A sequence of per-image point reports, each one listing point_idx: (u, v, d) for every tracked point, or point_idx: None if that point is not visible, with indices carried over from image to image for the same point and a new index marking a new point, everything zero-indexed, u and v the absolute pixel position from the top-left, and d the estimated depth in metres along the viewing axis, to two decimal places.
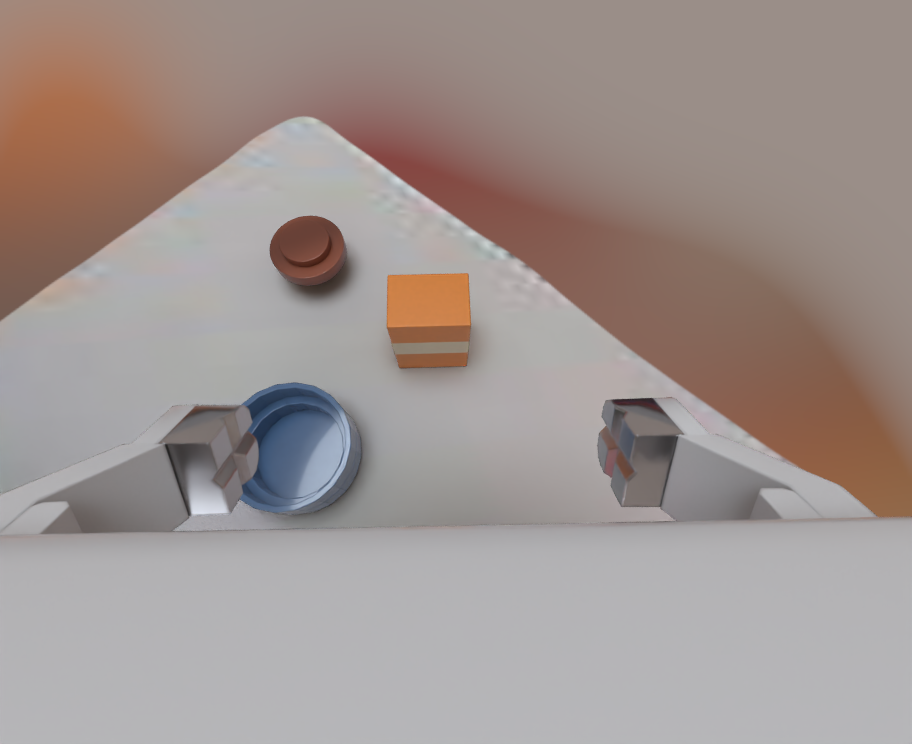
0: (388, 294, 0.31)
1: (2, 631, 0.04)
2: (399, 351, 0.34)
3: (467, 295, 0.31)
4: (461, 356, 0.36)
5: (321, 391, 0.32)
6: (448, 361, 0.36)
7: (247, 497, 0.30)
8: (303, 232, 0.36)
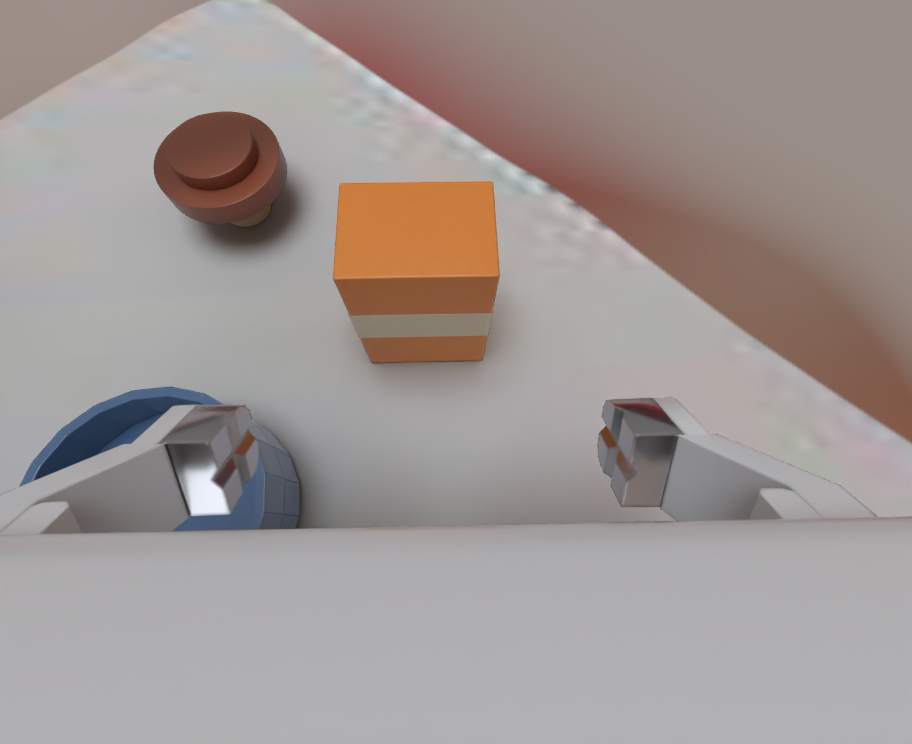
0: (339, 217, 0.16)
1: (2, 631, 0.04)
2: (365, 332, 0.19)
3: (492, 220, 0.16)
4: (476, 343, 0.21)
5: (216, 403, 0.17)
6: (453, 352, 0.22)
7: None
8: (209, 132, 0.22)
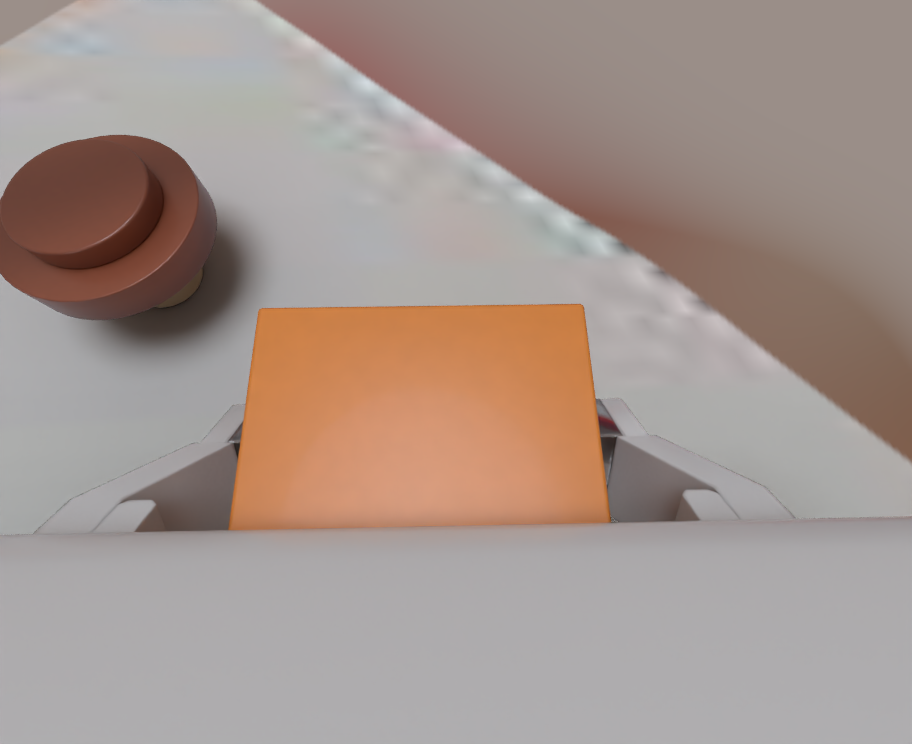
0: (250, 392, 0.07)
1: (2, 631, 0.04)
2: None
3: (588, 400, 0.07)
4: None
5: None
6: None
7: None
8: (78, 172, 0.13)
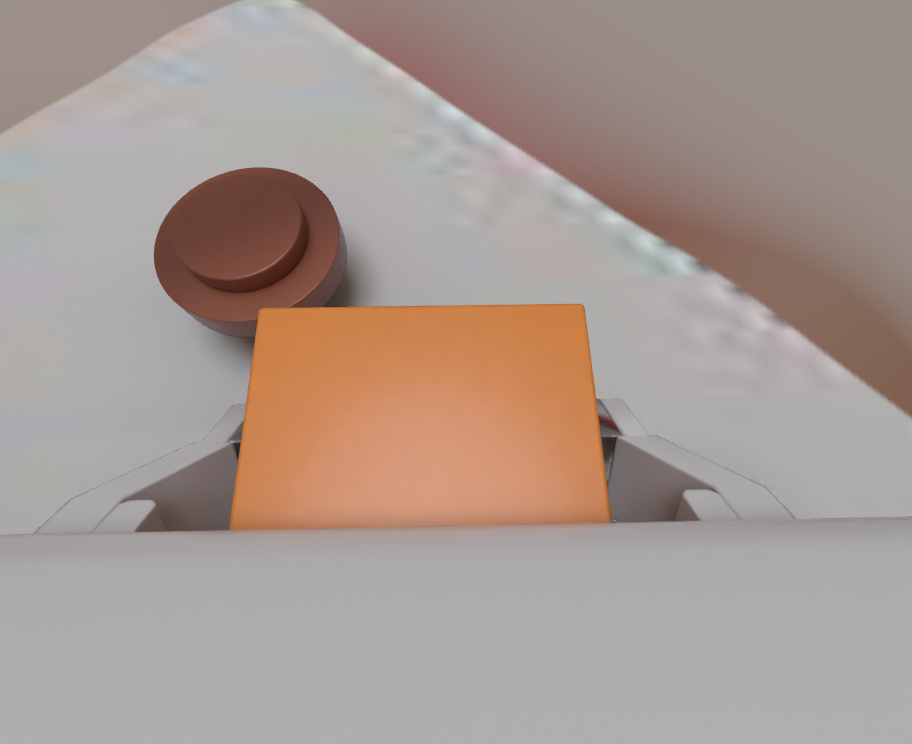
0: (251, 392, 0.07)
1: (2, 631, 0.04)
2: None
3: (589, 400, 0.07)
4: None
5: None
6: None
7: None
8: (237, 204, 0.14)
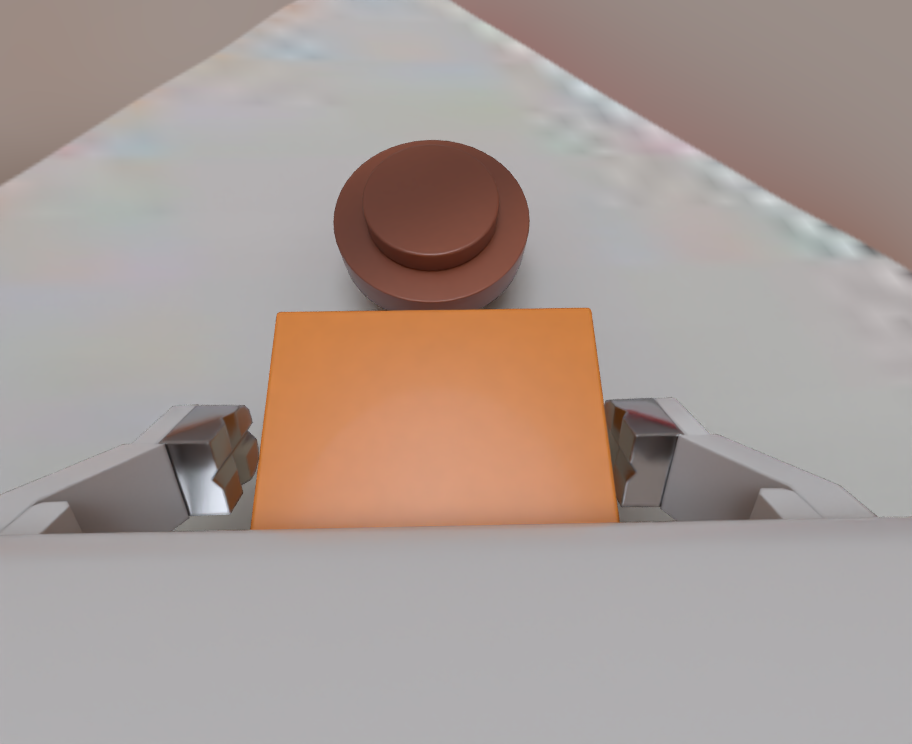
0: (270, 393, 0.07)
1: (2, 631, 0.04)
2: None
3: (596, 401, 0.07)
4: None
5: None
6: None
7: None
8: (428, 176, 0.13)
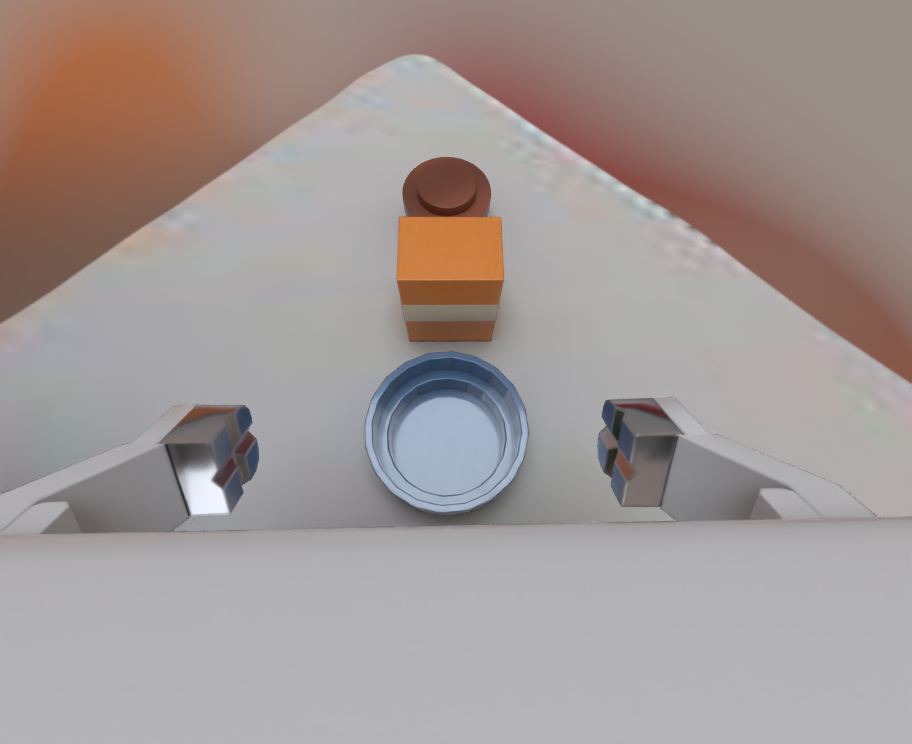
0: (399, 240, 0.24)
1: (2, 631, 0.04)
2: (410, 317, 0.28)
3: (499, 243, 0.24)
4: (486, 327, 0.29)
5: (485, 363, 0.26)
6: (470, 333, 0.30)
7: (404, 492, 0.23)
8: (445, 174, 0.30)
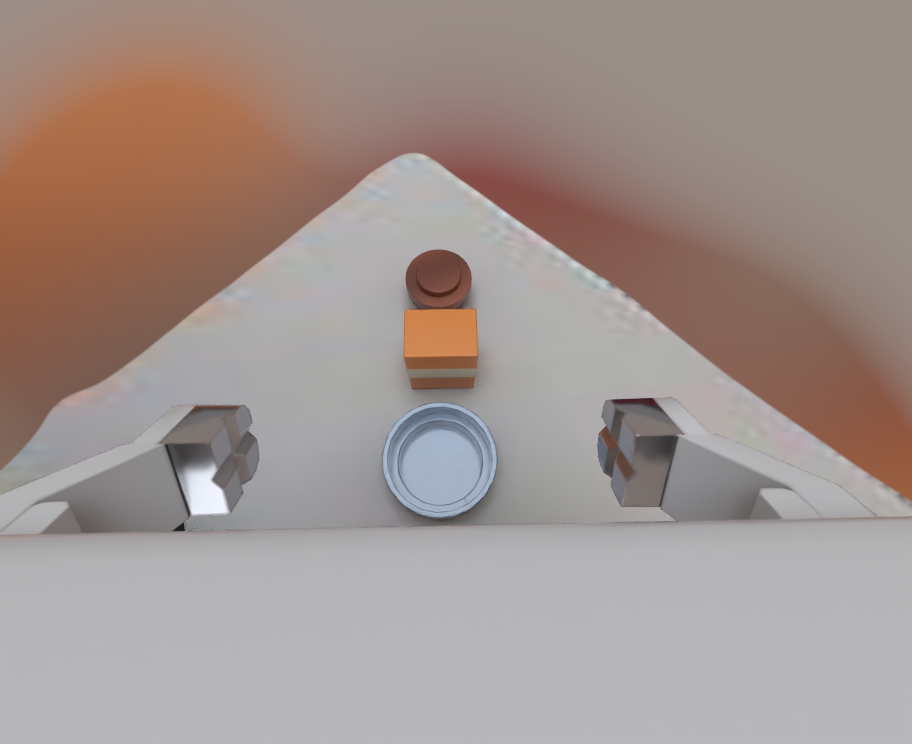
0: (405, 327, 0.35)
1: (2, 631, 0.04)
2: (412, 375, 0.38)
3: (475, 328, 0.35)
4: (469, 380, 0.39)
5: (466, 410, 0.36)
6: (457, 384, 0.40)
7: (410, 504, 0.34)
8: (437, 265, 0.41)
